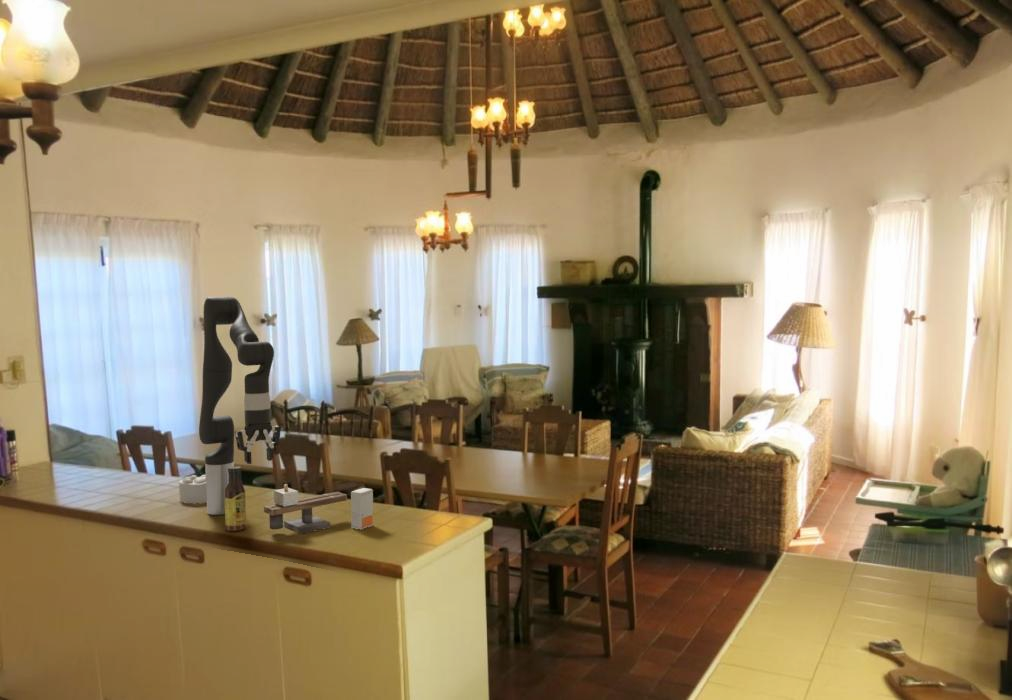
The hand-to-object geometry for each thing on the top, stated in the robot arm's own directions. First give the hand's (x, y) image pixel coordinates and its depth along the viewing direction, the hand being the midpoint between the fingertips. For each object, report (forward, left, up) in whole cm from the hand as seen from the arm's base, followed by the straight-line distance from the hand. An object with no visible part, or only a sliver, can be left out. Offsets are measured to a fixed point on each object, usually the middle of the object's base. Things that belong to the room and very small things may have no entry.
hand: (259, 461), depth 232 cm
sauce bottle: (-14, -2, -24) cm, 28 cm away
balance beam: (0, +15, -23) cm, 28 cm away
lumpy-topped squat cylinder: (-61, +3, -24) cm, 66 cm away
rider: (0, +8, -16) cm, 18 cm away
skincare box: (+13, +28, -24) cm, 39 cm away
